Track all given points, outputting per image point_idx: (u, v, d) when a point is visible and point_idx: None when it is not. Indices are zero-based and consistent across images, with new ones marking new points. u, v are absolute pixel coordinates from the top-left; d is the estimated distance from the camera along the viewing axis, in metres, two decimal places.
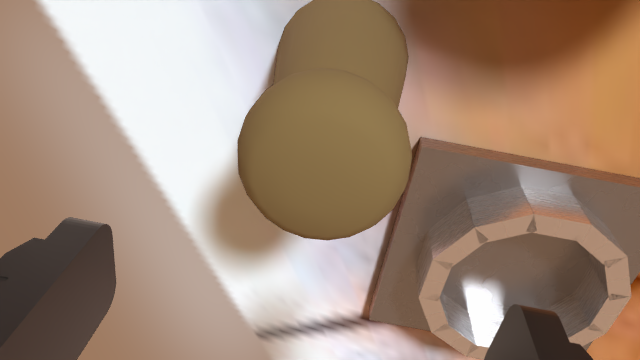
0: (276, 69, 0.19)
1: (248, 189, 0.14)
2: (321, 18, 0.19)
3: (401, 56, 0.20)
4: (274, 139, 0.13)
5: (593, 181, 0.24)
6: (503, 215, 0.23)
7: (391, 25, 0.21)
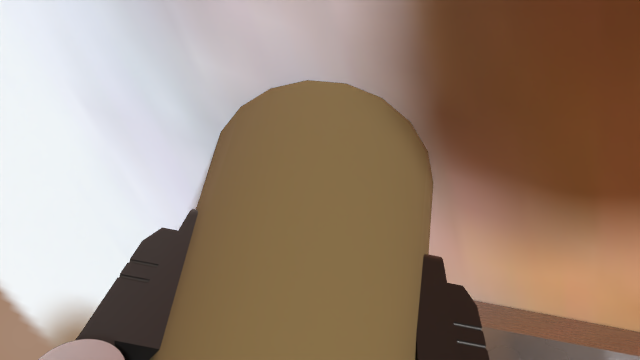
0: None
1: None
2: (271, 146, 0.10)
3: (424, 206, 0.11)
4: None
5: None
6: None
7: (405, 144, 0.11)
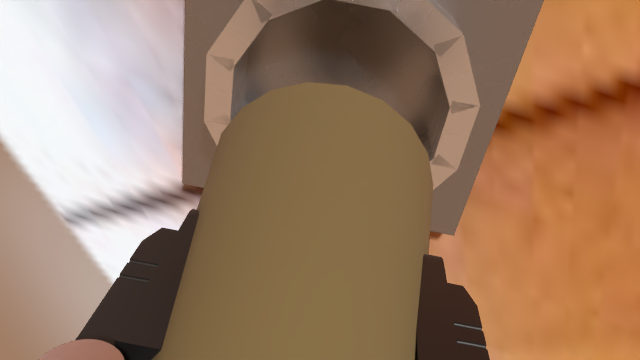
0: None
1: None
2: (271, 148, 0.10)
3: (425, 208, 0.11)
4: None
5: None
6: None
7: (406, 146, 0.11)
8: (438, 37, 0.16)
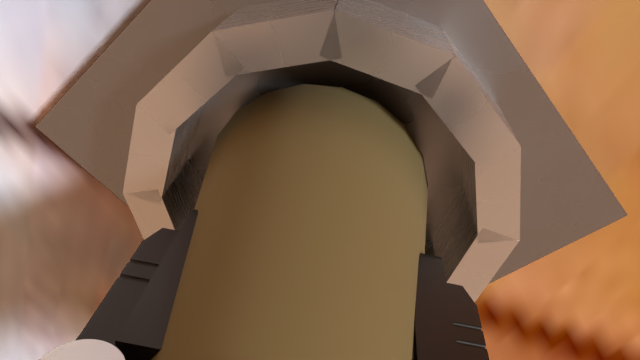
0: None
1: None
2: (269, 148, 0.10)
3: (420, 208, 0.11)
4: None
5: (541, 100, 0.13)
6: (398, 29, 0.10)
7: (401, 147, 0.11)
8: (494, 224, 0.12)
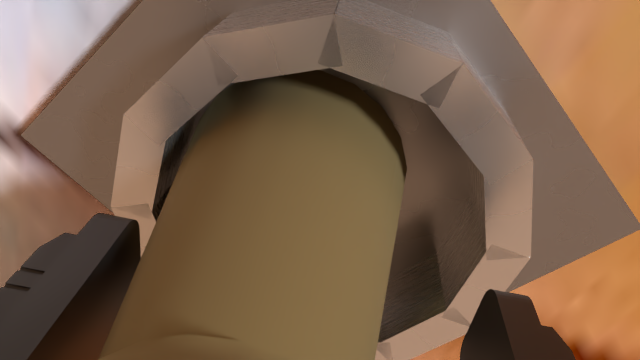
0: None
1: None
2: (242, 127, 0.10)
3: (393, 187, 0.11)
4: None
5: (553, 109, 0.12)
6: (402, 35, 0.10)
7: (376, 128, 0.12)
8: (504, 241, 0.11)
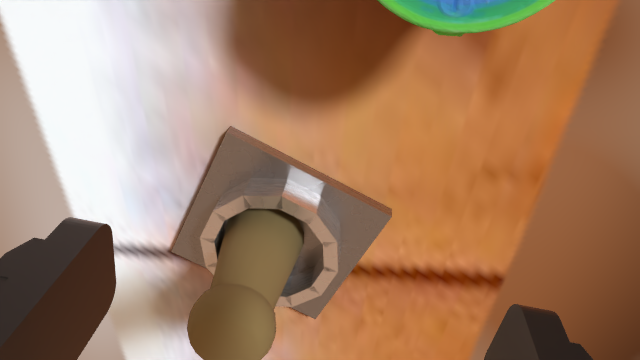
0: None
1: (199, 355, 0.29)
2: (232, 231, 0.34)
3: (285, 233, 0.34)
4: (196, 334, 0.28)
5: (334, 189, 0.35)
6: (264, 192, 0.33)
7: (276, 215, 0.35)
8: (325, 239, 0.34)
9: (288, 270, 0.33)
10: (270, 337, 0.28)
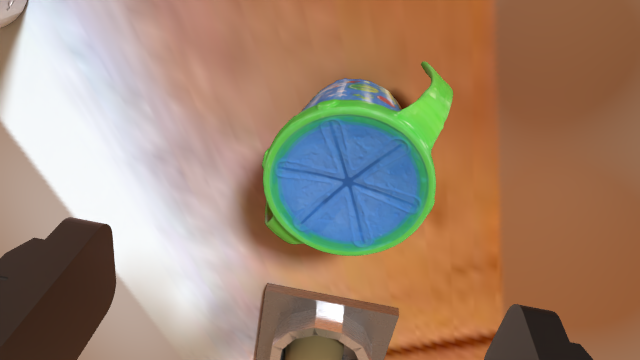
0: None
1: None
2: (289, 356, 0.48)
3: (325, 348, 0.47)
4: None
5: (351, 307, 0.47)
6: (302, 326, 0.46)
7: (316, 336, 0.48)
8: (354, 347, 0.46)
9: None
10: None
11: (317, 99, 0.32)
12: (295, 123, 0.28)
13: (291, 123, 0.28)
